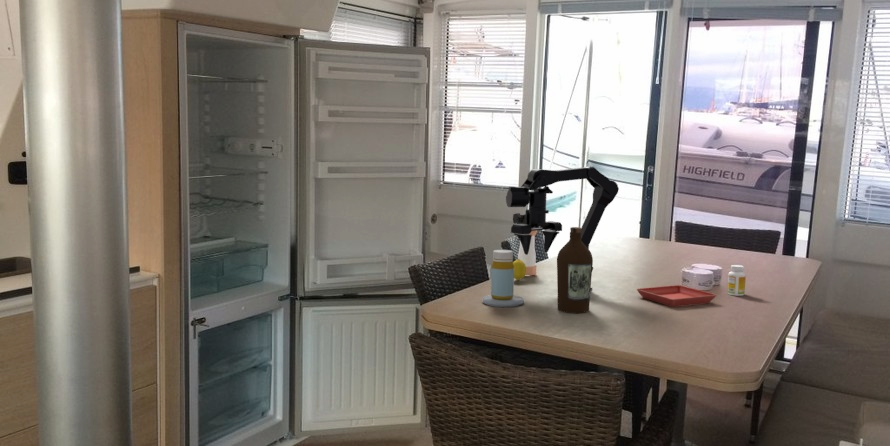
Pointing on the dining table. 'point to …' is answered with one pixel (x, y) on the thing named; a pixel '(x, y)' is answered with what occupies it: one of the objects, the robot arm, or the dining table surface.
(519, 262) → the lemon
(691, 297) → the plant saucer
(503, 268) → the bottle
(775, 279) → the dining table surface
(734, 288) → the supplement bottle
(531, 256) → the pepper shaker
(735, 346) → the dining table surface
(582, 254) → the olive oil
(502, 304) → the stand
